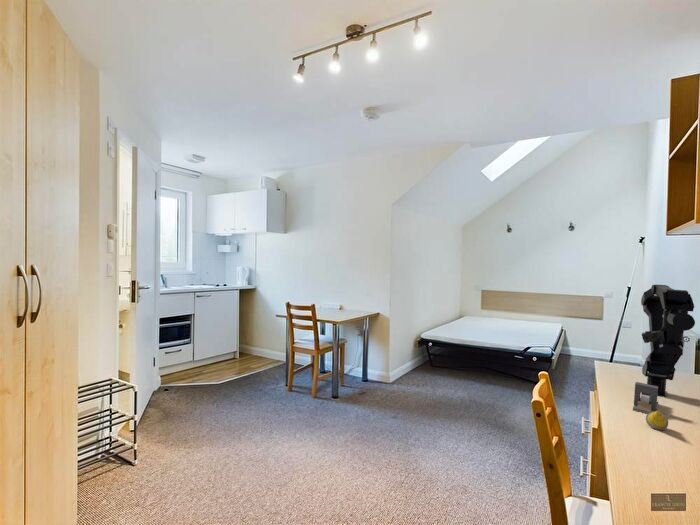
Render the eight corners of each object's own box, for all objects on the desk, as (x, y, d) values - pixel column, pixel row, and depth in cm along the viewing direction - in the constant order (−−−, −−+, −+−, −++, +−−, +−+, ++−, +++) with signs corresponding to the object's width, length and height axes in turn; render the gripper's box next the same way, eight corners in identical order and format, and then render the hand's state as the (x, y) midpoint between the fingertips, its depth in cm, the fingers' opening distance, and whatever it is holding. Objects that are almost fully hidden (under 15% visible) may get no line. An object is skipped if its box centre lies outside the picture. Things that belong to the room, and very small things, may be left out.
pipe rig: (637, 399, 141) (638, 384, 141) (658, 404, 137) (659, 388, 137) (632, 410, 131) (633, 394, 130) (655, 415, 127) (656, 399, 126)
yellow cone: (671, 431, 117) (675, 416, 111) (653, 436, 118) (655, 422, 112) (659, 414, 121) (661, 400, 115) (641, 419, 122) (642, 405, 116)
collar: (634, 402, 135) (636, 381, 134) (656, 407, 131) (658, 386, 130) (633, 405, 132) (635, 383, 132) (655, 410, 128) (657, 388, 128)
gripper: (646, 318, 146) (643, 359, 147) (641, 325, 133) (638, 369, 133) (685, 323, 139) (682, 366, 140) (684, 330, 125) (680, 378, 126)
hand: (669, 369), depth 135 cm, fingers closed
